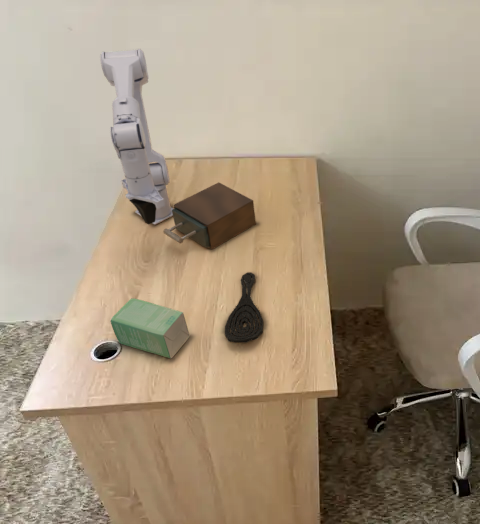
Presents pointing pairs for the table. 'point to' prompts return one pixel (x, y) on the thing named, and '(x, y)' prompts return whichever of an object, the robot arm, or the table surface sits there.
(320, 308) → the table surface
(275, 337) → the table surface
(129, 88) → the robot arm
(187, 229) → the drawer
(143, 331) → the box
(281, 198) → the table surface
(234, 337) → the hairbrush
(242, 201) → the cabinet
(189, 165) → the table surface
